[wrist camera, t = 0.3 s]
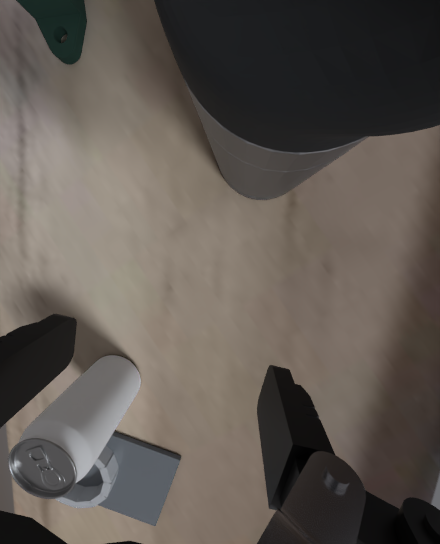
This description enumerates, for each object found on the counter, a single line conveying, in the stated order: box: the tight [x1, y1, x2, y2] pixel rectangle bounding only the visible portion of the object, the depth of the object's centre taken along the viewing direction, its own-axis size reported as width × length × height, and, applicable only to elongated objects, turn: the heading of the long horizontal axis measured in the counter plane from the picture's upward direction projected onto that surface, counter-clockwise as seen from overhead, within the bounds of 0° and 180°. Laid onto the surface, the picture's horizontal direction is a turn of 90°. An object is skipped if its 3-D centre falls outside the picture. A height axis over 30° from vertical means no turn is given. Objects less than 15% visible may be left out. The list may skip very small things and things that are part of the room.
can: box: [8, 355, 141, 499], centre depth 25 cm, size 6×6×12 cm
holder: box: [56, 432, 181, 526], centre depth 33 cm, size 12×18×2 cm, turn 71°
